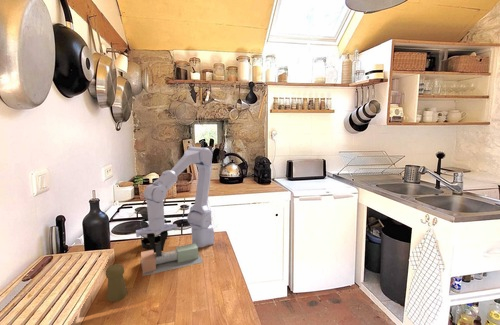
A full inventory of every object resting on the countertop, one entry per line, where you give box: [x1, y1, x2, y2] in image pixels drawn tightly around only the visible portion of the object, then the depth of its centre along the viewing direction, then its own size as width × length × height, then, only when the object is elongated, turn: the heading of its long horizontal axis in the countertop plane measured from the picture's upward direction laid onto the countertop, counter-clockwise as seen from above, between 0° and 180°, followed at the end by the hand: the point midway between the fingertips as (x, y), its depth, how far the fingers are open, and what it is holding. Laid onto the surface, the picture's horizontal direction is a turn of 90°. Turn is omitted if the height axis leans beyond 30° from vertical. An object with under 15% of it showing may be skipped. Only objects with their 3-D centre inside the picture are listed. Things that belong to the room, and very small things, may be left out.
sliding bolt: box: [154, 242, 178, 264], centre depth 104 cm, size 14×3×7 cm, turn 115°
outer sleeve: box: [175, 243, 199, 262], centre depth 108 cm, size 8×4×4 cm, turn 115°
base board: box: [140, 252, 204, 277], centre depth 106 cm, size 22×12×1 cm, turn 115°
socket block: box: [140, 249, 156, 273], centre depth 102 cm, size 4×8×4 cm, turn 25°
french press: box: [138, 197, 168, 251], centre depth 118 cm, size 12×9×23 cm
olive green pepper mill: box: [105, 263, 128, 303], centre depth 85 cm, size 6×6×11 cm
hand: (158, 250), depth 103 cm, fingers closed on sliding bolt, 2 cm apart
